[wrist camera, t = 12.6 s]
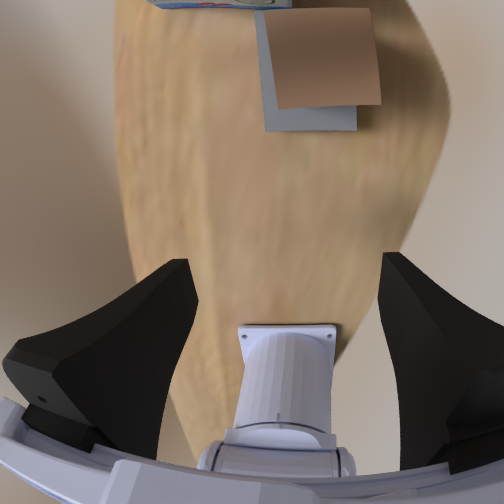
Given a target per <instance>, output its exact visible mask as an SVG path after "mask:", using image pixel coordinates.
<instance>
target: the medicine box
mask: <svg viewBox="0 0 504 504" xmlns="http://www.w3.org/2000/svg"><path fill="white" fill-rule="evenodd" d="M144 1H146V2H148V3H151V4H153V5H155V6H157V7H159V8H161V9H169V8H188V7H228V8H248V9H261V10H274V9H291V8H292V1H293V0H144Z"/></svg>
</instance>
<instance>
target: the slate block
mask: <svg viewBox="0 0 504 504" xmlns="http://www.w3.org/2000/svg"><path fill="white" fill-rule="evenodd" d="M293 9H302V8H293ZM277 10H288V9H274V10H261V11H254V15H255V25H256V35H257V45H258V56H259V66H260V77H261V88H262V100H263V112H264V124H265V132H274V131H308V130H340V131H357V108H356V105H342V106H321V107H306V108H294V109H283V110H278V104H277V97H276V90H275V83H274V76H273V69H272V62H271V56H270V49H269V43H268V37H267V31H266V25H265V19H264V13H263V12H268V11H277Z"/></svg>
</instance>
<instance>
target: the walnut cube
mask: <svg viewBox="0 0 504 504" xmlns="http://www.w3.org/2000/svg"><path fill="white" fill-rule="evenodd" d="M263 13H264V19H265V25H266V31H267V37H268V43H269V49H270V56H271V62H272V69H273V76H274V83H275V90H276V97H277V104H278V110H283V109H294V108H306V107H321V106H342V105H382V103H381V90H380V79H379V69H378V61H377V52H376V45H375V38H374V31H373V25H372V19H371V13H370V8H347V7H329V8H302V9H288V10H277V11H268V12H263Z"/></svg>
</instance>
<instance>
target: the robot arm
mask: <svg viewBox="0 0 504 504" xmlns="http://www.w3.org/2000/svg"><path fill="white" fill-rule="evenodd" d="M198 302H199V300H198V297H197V293H196V289H195V285H194V282H193V278H192V274H191V270H190V266H189V262H188V259H172V260H170V261H169V262H167V263H166V264H164V265H163V266H161V267H160V268H158V269H157V270H156V271H154V272H153V273H151V274H150V275H149V276H147V277H146V278H145V279H143V280H142V281H141V282H139V283H138V284H136V285H135V286H134V287H132V288H131V289H129V290H128V291H126V292H125V293H123V294H122V295H121V296H119V297H118V298H116V299H115V300H113V301H111V302H110V303H108V304H106V305H105V306H103V307H101V308H99V309H98V310H96V311H94V312H92V313H90V314H88V315H86V316H84V317H82V318H80V319H78V320H76V321H74V322H71V323H69V324H67V325H64V326H62V327H59V328H56V329H54V330H51V331H48V332H45V333H42V334H38V335H35V336H31V337H27V338H24V339H20V340H18V341H17V342H16V343H15V345H14V346H13V347H12V349H11V350H10V351H9V353H8V354H7V355H6V357H5V358H4V359H3V362H2V365H3V369H4V371H5V373H6V375H7V377H8V378H9V379H10V381H11V382H12V383H13V384H14V386H15V387H16V388H17V389H18V390H19V392H20V393H21V394H22V395H23V396H24V397H25V399H26V400H27V401H28V402H29V403H30V404H29V406H28V407H27V409H26V408H24V407H23V406H22V405H20V404H18V403H16V402H14V401H12V400H10V399H8V398H6V397H3V398H2V399H1V401H0V464H1V465H3V466H4V467H5V468H7V469H8V470H9V471H11V472H12V473H13V474H15V475H16V476H18V477H19V478H21V479H22V480H24V481H25V482H27V483H28V484H30V485H32V486H33V487H35V488H37V489H38V490H40V491H42V492H44V493H45V494H47V495H48V496H50V497H52V498H54V499H56V500H57V501H59V502H61V503H63V504H504V326H502V325H500V324H498V323H496V322H494V321H492V320H490V319H488V318H487V317H485V316H483V315H481V314H479V313H477V312H476V311H474V310H473V309H471V308H469V307H468V306H466V305H465V304H463V303H462V302H460V301H459V300H457V299H456V298H455V297H453V296H452V295H450V294H449V293H448V292H447V291H445V290H444V289H443V288H441V287H440V286H439V285H438V284H436V283H435V282H434V281H433V280H431V279H430V278H429V277H428V276H427V275H426V274H424V273H423V272H422V271H421V270H420V269H419V268H417V267H416V266H415V265H414V264H413V263H412V262H411V261H409V260H408V259H407V258H406V257H405V256H403V255H402V254H401V253H400V252H385V253H383V258H382V267H381V275H380V283H379V291H378V305H379V311H380V317H381V323H382V326H383V330H384V333H385V337H386V341H387V344H388V348H389V351H390V355H391V359H392V363H393V366H394V371H395V376H396V383H397V392H398V400H399V415H400V438H401V439H400V442H401V444H400V446H401V450H400V471H396V472H390V473H381V474H372V475H361V476H356V466H355V461H354V458H353V456H352V455H351V454H350V453H349V452H348V450H347V449H346V448H344V447H336V435H335V434H331V385H332V376H333V366H334V356H335V345H336V333H337V331H336V327H335V326H334V325H288V326H253V325H243V326H240V327H239V329H238V335H239V340H240V344H241V349H242V354H243V359H244V363H245V371H244V376H243V381H242V386H241V390H240V395H239V400H238V405H237V410H236V414H235V419H234V424H233V429H231V428H227V429H226V433H225V437H224V441H221V440H215V441H213V442H212V443H211V444H210V445H209V446H207V447H206V448H205V449H204V451H203V452H202V454H201V456H200V459H199V462H198V465H197V469H196V468H190V467H184V466H179V465H174V464H169V463H165V462H160V461H156V457H157V448H158V440H159V434H160V428H161V422H162V417H163V412H164V407H165V403H166V398H167V394H168V390H169V387H170V383H171V379H172V376H173V373H174V370H175V367H176V365H177V362H178V360H179V357H180V355H181V352H182V350H183V347H184V345H185V343H186V340H187V338H188V335H189V333H190V330H191V328H192V325H193V322H194V319H195V315H196V311H197V306H198ZM329 334H332V335H329ZM244 335H247V336H244Z"/></svg>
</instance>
